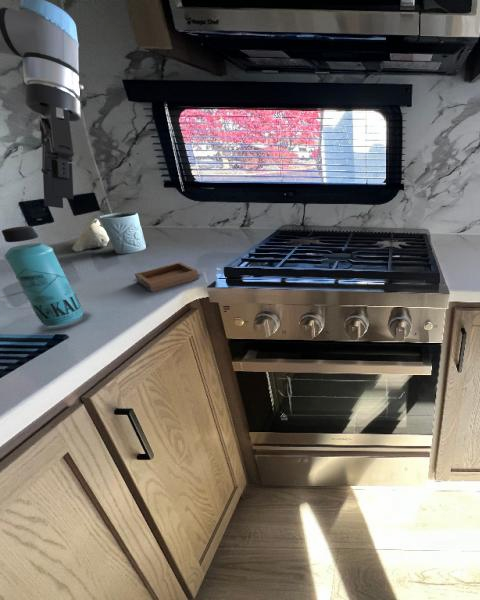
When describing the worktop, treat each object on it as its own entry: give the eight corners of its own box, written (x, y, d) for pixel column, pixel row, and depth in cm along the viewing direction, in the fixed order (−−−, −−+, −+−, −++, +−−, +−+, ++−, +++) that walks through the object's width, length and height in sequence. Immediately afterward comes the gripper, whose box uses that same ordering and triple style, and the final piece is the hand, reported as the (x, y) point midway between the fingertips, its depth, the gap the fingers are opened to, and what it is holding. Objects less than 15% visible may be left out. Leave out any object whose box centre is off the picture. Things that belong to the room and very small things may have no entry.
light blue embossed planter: (112, 249, 115) (98, 215, 110) (147, 243, 121) (135, 210, 116) (115, 256, 108) (99, 219, 103) (152, 249, 114) (139, 214, 109)
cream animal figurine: (100, 258, 113) (124, 223, 119) (73, 246, 108) (100, 210, 113) (90, 264, 122) (113, 231, 128) (65, 253, 117) (89, 219, 123)
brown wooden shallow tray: (137, 281, 88) (134, 273, 87) (182, 269, 95) (180, 262, 94) (152, 292, 81) (148, 283, 80) (199, 278, 89) (196, 270, 88)
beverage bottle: (46, 324, 68) (-8, 227, 59) (88, 313, 72) (43, 221, 63) (43, 337, 63) (-17, 234, 55) (88, 325, 67) (39, 227, 58)
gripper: (91, 78, 60) (96, 197, 61) (70, 118, 75) (74, 213, 77) (29, 55, 54) (36, 187, 55) (20, 104, 70) (25, 207, 71)
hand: (58, 202), depth 66 cm, fingers open, 13 cm apart
